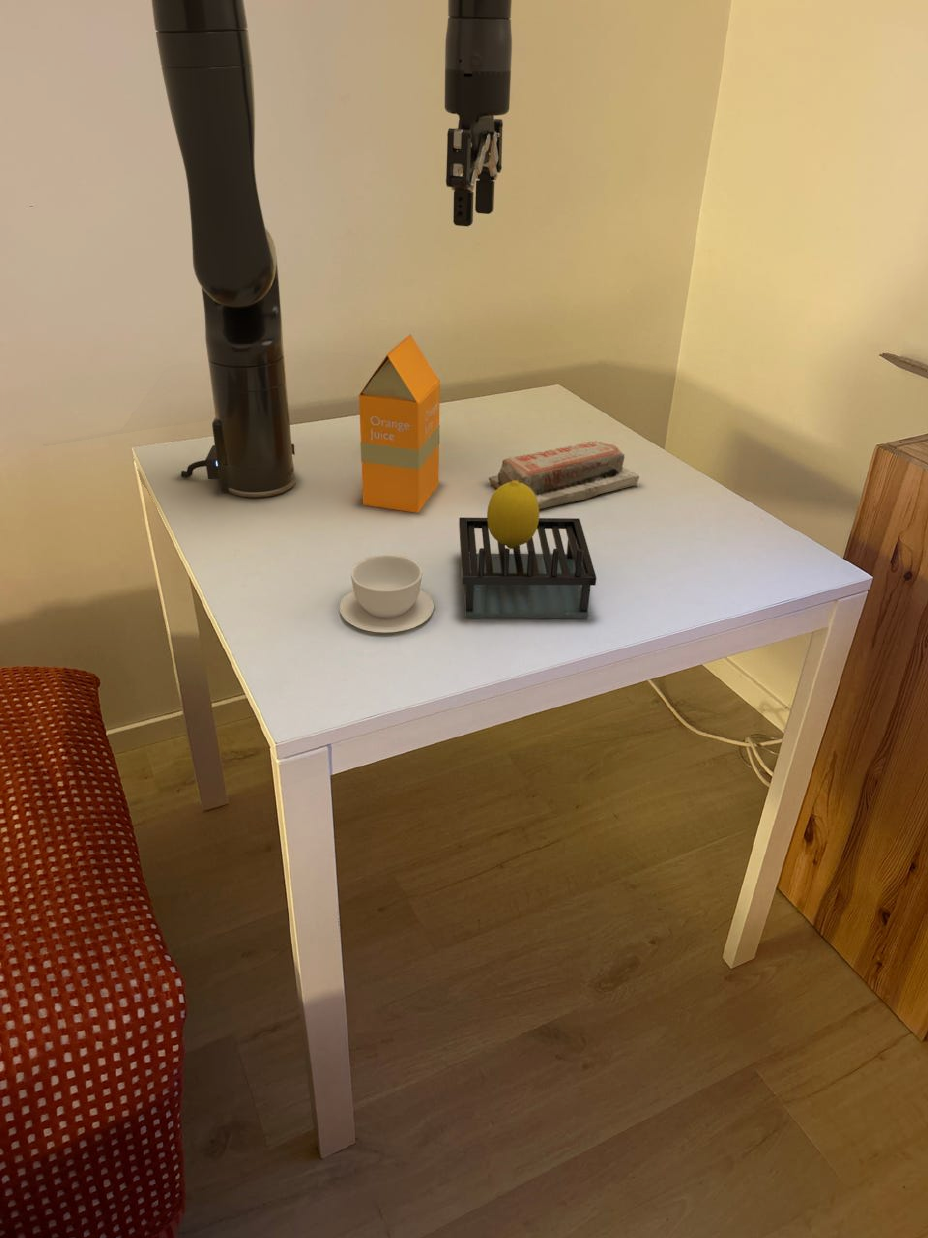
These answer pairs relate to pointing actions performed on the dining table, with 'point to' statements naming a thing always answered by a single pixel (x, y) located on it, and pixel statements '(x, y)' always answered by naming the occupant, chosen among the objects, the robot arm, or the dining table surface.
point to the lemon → (513, 514)
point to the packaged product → (568, 472)
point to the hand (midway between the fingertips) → (473, 218)
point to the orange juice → (400, 431)
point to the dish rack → (526, 574)
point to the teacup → (386, 595)
